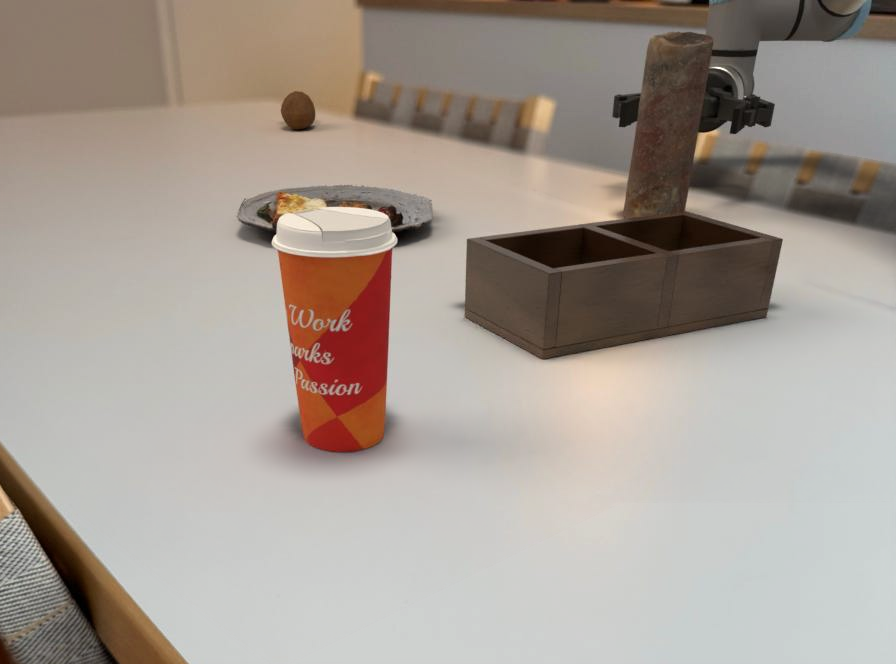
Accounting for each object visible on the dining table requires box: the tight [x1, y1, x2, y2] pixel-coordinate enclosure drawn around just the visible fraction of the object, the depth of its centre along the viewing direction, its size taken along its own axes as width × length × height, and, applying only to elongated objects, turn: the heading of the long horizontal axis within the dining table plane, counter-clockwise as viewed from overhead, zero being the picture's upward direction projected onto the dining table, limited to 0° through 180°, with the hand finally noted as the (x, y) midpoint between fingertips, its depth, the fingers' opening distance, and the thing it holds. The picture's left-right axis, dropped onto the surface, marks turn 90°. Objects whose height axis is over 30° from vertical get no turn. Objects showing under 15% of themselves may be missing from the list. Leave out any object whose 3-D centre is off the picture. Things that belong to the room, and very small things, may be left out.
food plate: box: [236, 184, 434, 233], centre depth 116 cm, size 25×23×4 cm
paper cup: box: [271, 207, 398, 453], centre depth 62 cm, size 8×8×14 cm
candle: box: [622, 31, 714, 219], centre depth 112 cm, size 8×7×20 cm
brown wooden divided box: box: [464, 210, 784, 360], centre depth 86 cm, size 25×13×7 cm, turn 118°
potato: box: [280, 90, 316, 130], centre depth 183 cm, size 7×10×6 cm
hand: (677, 118), depth 116 cm, fingers open, 13 cm apart
